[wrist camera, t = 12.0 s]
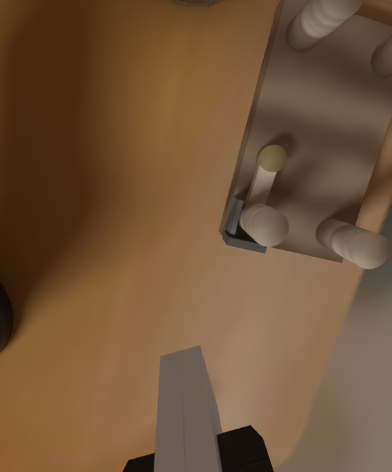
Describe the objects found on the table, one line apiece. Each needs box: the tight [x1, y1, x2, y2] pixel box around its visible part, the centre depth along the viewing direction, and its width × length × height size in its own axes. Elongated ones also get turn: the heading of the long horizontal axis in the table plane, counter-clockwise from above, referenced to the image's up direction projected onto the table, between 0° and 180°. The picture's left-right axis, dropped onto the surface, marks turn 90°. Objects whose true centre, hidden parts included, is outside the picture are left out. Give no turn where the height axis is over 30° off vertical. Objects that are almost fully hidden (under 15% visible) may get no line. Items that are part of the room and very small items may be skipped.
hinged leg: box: [238, 145, 289, 247], centre depth 30 cm, size 9×3×8 cm, turn 163°
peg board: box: [219, 0, 392, 269], centre depth 31 cm, size 24×14×11 cm, turn 166°
